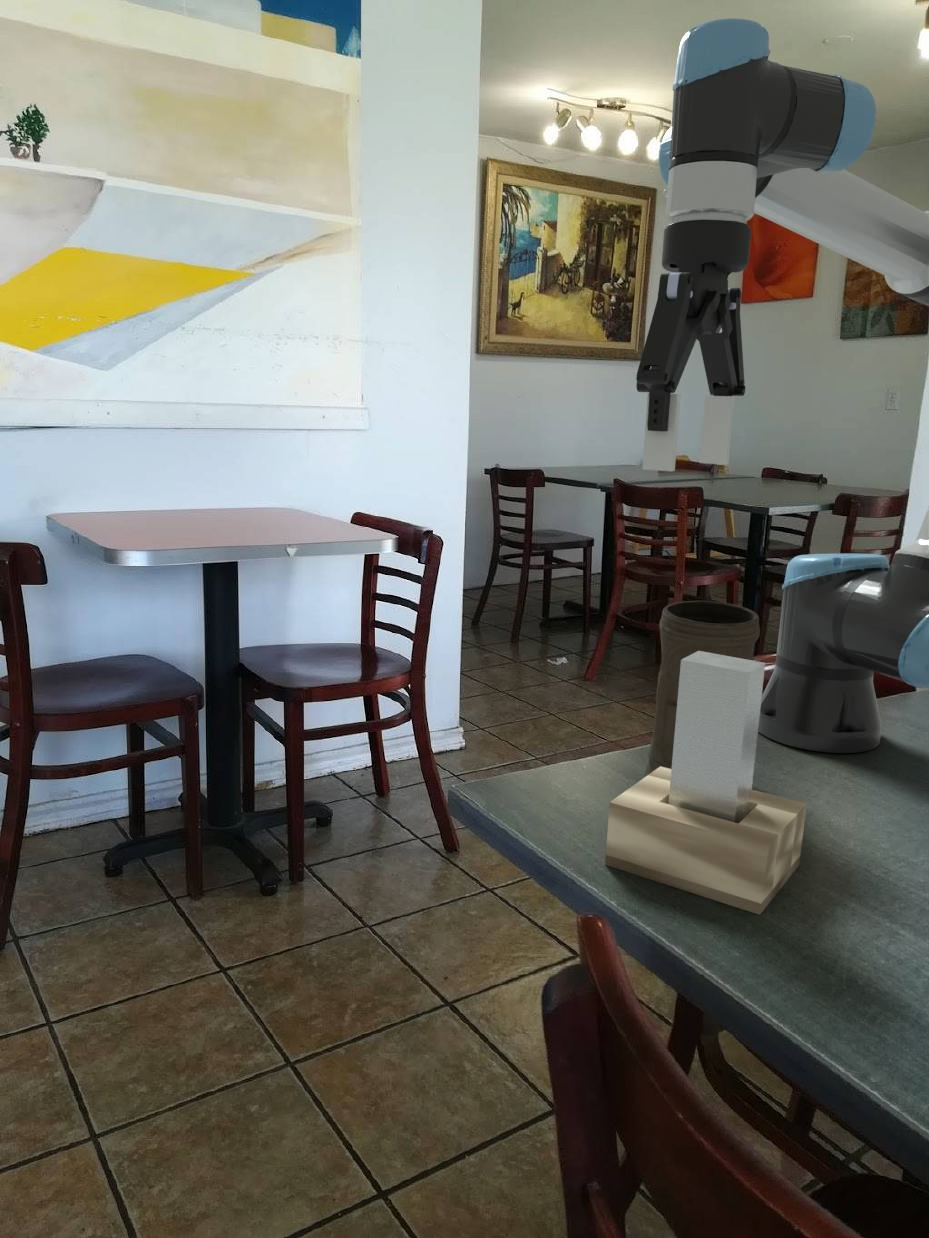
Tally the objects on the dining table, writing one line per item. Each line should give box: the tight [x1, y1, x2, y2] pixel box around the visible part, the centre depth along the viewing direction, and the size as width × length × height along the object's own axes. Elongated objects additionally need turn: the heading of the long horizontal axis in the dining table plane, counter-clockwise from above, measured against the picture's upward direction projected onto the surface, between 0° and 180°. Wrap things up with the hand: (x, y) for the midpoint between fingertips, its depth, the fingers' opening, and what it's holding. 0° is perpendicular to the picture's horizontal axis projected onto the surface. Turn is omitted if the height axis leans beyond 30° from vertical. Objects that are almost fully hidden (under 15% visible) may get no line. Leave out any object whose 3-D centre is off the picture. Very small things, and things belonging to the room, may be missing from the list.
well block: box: [604, 766, 807, 916], centre depth 88 cm, size 11×14×6 cm
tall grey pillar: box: [668, 651, 766, 824], centre depth 86 cm, size 4×6×18 cm, turn 56°
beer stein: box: [643, 600, 761, 778], centre depth 105 cm, size 15×11×20 cm
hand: (687, 467), depth 91 cm, fingers open, 13 cm apart
